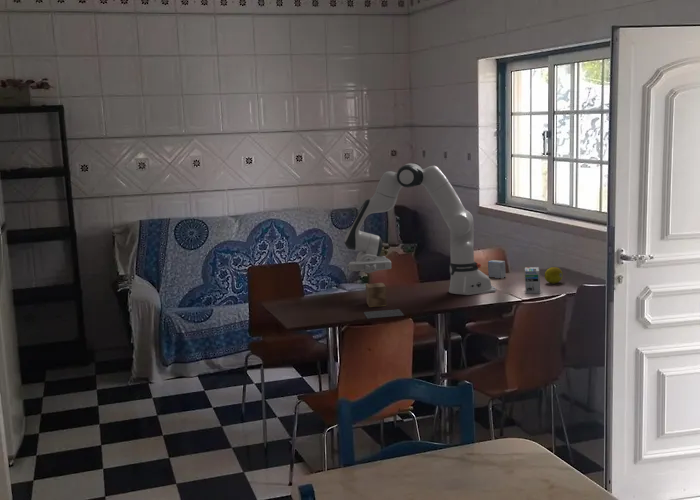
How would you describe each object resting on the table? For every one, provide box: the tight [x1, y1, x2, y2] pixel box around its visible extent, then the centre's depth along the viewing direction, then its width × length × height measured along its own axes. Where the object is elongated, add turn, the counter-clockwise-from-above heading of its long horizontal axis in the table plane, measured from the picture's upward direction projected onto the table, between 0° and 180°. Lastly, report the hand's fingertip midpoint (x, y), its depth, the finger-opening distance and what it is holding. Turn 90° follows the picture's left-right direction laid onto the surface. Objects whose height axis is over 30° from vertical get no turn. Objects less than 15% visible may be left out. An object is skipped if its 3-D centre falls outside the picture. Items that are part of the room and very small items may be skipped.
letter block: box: [365, 282, 388, 308], centre depth 357 cm, size 8×9×9 cm
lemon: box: [544, 266, 564, 285], centre depth 381 cm, size 11×8×8 cm
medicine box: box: [487, 259, 507, 279], centre depth 403 cm, size 8×4×9 cm, turn 46°
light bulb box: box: [524, 266, 541, 295], centre depth 365 cm, size 11×7×11 cm, turn 168°
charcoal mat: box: [363, 308, 405, 320], centre depth 338 cm, size 16×12×1 cm
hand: (372, 268), depth 362 cm, fingers closed
